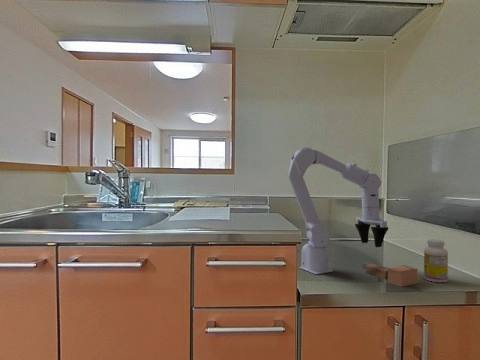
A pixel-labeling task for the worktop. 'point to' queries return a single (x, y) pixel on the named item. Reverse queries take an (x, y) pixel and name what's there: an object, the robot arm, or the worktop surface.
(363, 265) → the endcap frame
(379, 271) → the brown rectangular block
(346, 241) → the worktop surface
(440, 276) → the supplement bottle
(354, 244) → the worktop surface
